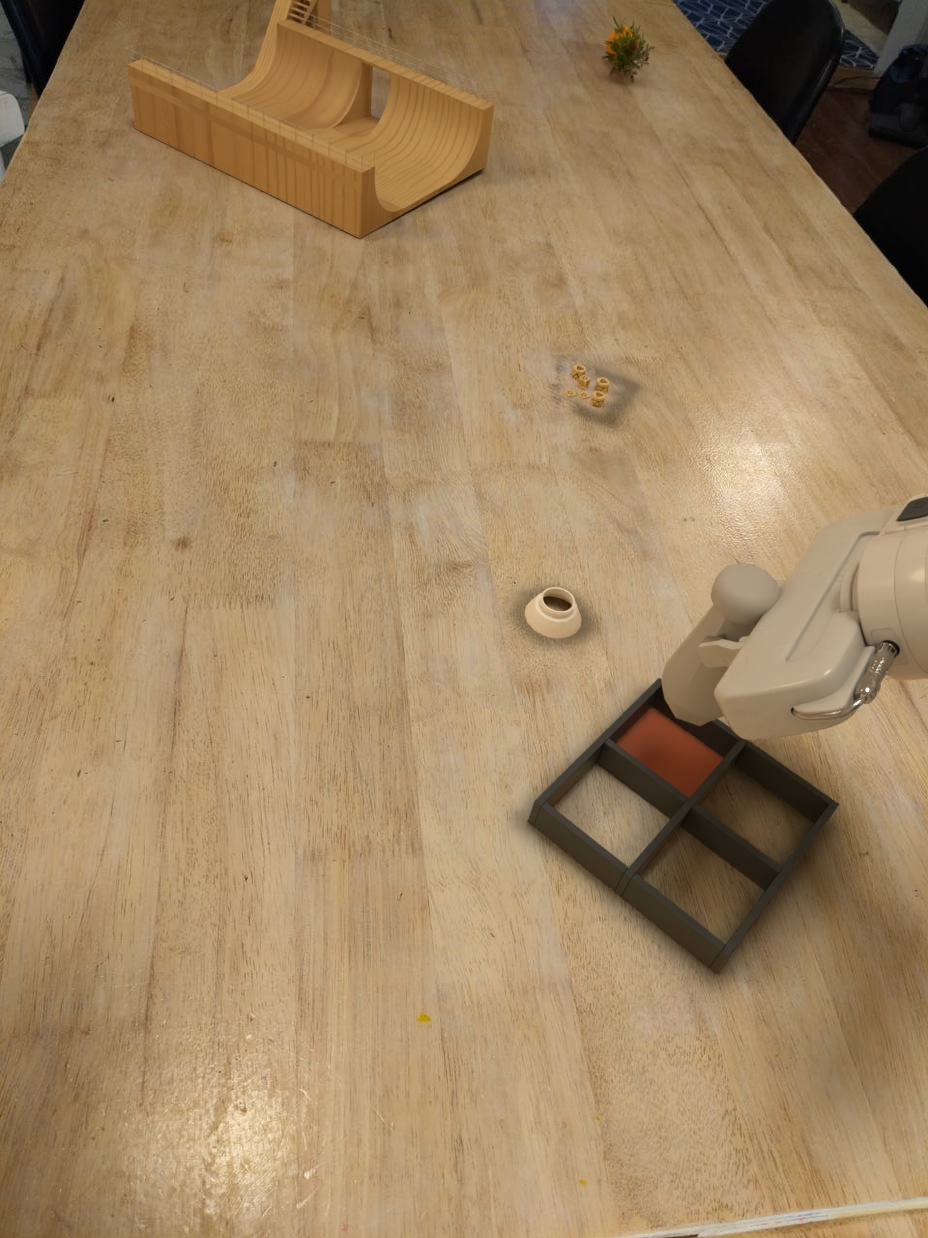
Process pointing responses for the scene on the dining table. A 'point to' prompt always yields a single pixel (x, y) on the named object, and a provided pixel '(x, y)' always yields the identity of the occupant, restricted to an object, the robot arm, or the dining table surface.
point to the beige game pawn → (734, 614)
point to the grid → (679, 811)
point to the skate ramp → (321, 124)
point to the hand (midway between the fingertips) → (716, 633)
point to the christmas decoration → (626, 49)
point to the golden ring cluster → (584, 382)
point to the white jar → (553, 615)
